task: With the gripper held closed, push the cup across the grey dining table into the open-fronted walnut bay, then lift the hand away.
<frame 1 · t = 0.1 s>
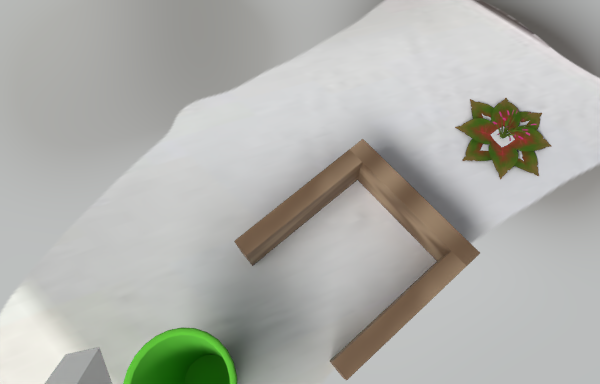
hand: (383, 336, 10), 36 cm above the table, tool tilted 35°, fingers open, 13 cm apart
lily flower: (500, 139, 53), on the table
cup: (211, 380, 43), on the table
walnut bay: (354, 254, 47), on the table
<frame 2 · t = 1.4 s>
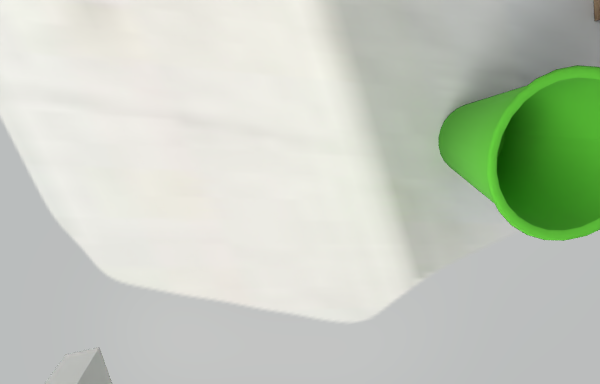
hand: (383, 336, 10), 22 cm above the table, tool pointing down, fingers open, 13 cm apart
cup: (468, 138, 32), on the table
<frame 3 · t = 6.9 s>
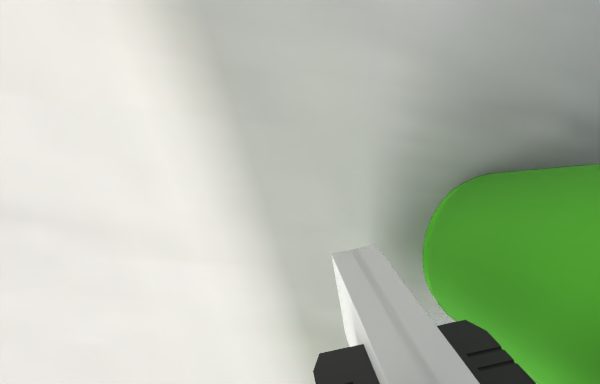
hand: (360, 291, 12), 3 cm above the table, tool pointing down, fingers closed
cup: (471, 245, 15), point 1 cm above the table, touching gripper, hand
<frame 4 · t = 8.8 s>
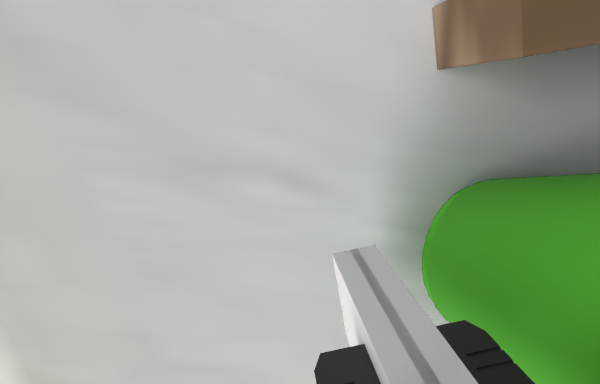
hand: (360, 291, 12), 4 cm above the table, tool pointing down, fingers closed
cup: (470, 250, 15), point 1 cm above the table, touching gripper, hand
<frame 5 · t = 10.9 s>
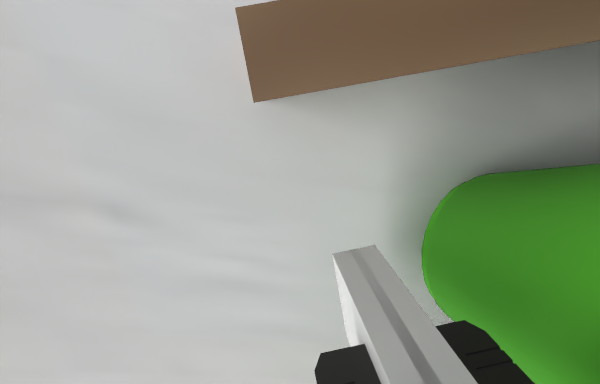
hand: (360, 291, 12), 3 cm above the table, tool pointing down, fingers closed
cup: (470, 245, 15), point 1 cm above the table, touching gripper, hand
walnut bay: (533, 225, 16), on the table
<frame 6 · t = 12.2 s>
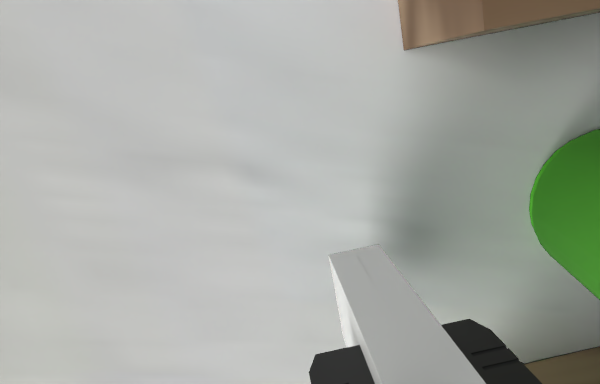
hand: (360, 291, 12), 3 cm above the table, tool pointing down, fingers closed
cup: (587, 195, 16), on the table
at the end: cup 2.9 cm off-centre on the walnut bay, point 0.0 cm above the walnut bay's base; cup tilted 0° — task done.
